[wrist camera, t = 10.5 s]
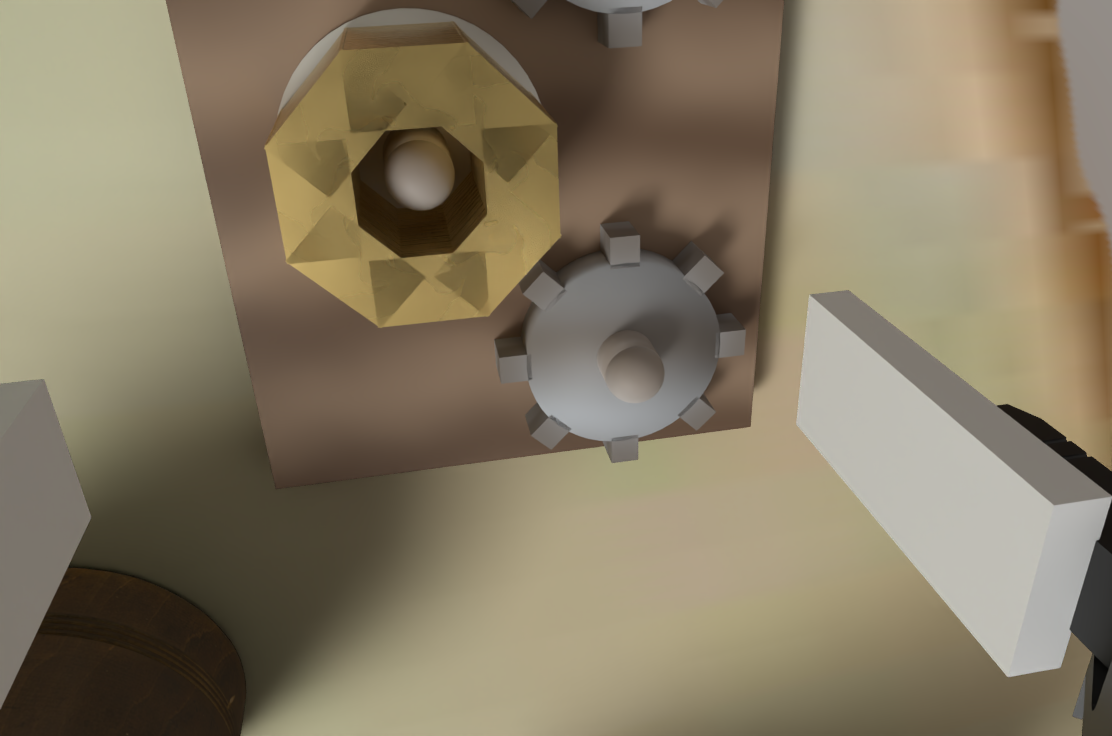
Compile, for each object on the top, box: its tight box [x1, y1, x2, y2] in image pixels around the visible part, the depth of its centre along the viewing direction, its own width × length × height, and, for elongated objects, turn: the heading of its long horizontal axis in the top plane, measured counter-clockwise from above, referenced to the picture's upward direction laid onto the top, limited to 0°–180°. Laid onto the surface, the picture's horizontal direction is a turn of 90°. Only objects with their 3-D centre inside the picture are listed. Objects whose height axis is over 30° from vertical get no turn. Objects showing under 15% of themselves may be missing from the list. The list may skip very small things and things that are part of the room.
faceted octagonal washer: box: [264, 21, 562, 328], centre depth 28 cm, size 8×8×5 cm
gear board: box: [166, 0, 784, 489], centre depth 30 cm, size 26×20×6 cm
